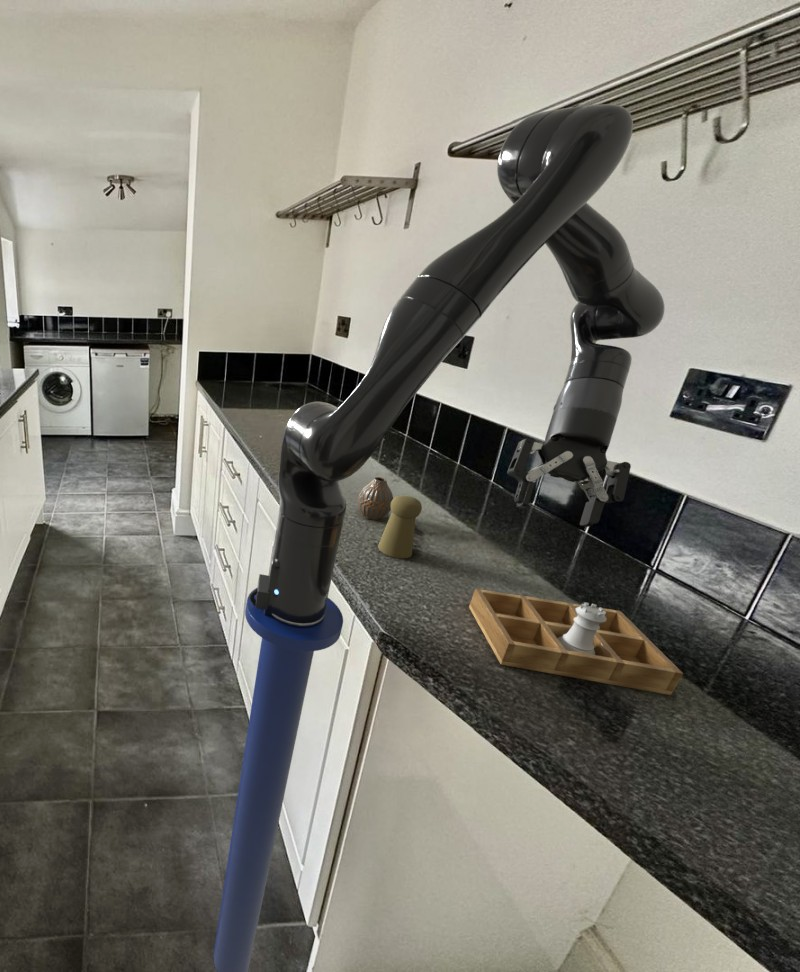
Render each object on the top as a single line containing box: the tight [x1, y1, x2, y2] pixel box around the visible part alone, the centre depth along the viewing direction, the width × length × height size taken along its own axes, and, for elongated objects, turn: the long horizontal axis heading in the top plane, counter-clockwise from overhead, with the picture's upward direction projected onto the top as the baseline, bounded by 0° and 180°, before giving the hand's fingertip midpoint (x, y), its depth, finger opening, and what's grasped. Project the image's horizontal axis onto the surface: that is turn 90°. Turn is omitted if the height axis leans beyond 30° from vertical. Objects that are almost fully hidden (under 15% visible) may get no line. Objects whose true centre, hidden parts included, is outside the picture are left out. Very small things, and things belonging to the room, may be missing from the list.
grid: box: [468, 588, 684, 696], centre depth 72 cm, size 20×13×4 cm
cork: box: [377, 494, 423, 559], centre depth 95 cm, size 6×6×11 cm
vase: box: [357, 476, 394, 521], centre depth 109 cm, size 7×7×9 cm
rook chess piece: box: [558, 602, 607, 655], centre depth 68 cm, size 4×4×8 cm
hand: (553, 516), depth 75 cm, fingers open, 8 cm apart
